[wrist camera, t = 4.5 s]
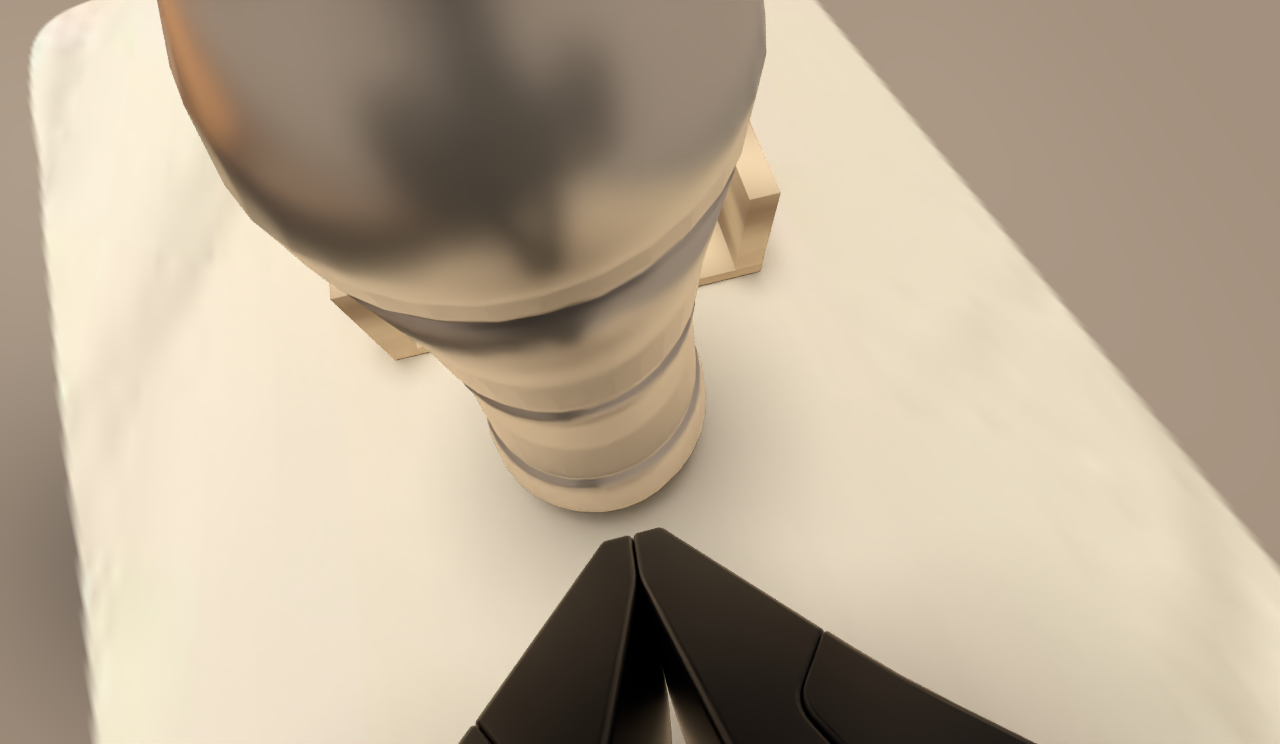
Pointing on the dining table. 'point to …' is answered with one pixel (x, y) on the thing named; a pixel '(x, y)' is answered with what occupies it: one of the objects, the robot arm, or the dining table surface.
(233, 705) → the dining table surface
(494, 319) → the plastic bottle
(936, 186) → the dining table surface
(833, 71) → the dining table surface
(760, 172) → the tray
